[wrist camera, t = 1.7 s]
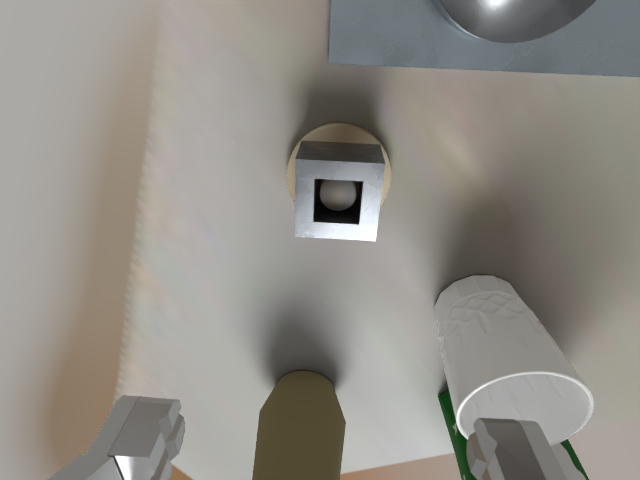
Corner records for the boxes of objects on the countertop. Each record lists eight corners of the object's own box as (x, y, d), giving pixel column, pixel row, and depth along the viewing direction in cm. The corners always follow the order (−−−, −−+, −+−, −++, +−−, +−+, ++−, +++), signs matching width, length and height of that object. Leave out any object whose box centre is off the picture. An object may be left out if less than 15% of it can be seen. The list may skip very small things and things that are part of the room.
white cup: (421, 277, 30) (450, 381, 22) (525, 259, 29) (601, 363, 20) (432, 346, 34) (460, 457, 26) (524, 333, 33) (588, 447, 24)
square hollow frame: (380, 144, 24) (385, 163, 21) (372, 214, 26) (375, 241, 23) (301, 140, 24) (295, 159, 21) (301, 210, 27) (295, 236, 24)
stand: (396, 125, 24) (403, 141, 21) (383, 221, 28) (388, 246, 25) (287, 119, 24) (279, 134, 21) (288, 216, 28) (282, 240, 25)
